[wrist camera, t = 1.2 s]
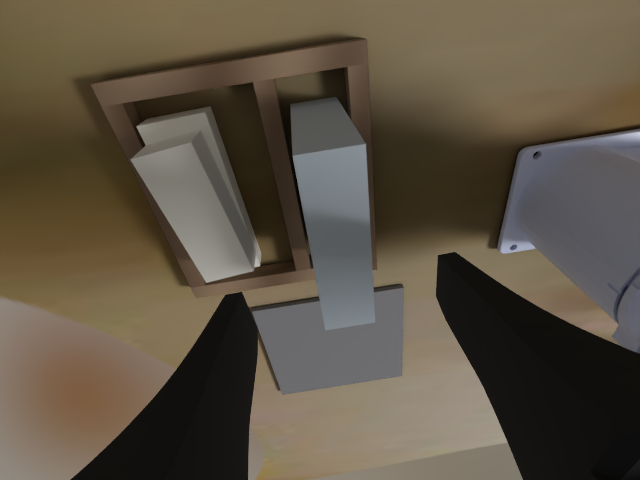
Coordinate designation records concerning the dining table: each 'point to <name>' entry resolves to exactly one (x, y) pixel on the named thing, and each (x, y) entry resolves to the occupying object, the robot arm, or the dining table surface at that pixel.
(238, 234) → the upper offcut
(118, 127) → the offcut rack
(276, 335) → the grey mat
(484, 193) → the dining table surface
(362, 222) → the pale grey rectangular block
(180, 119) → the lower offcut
